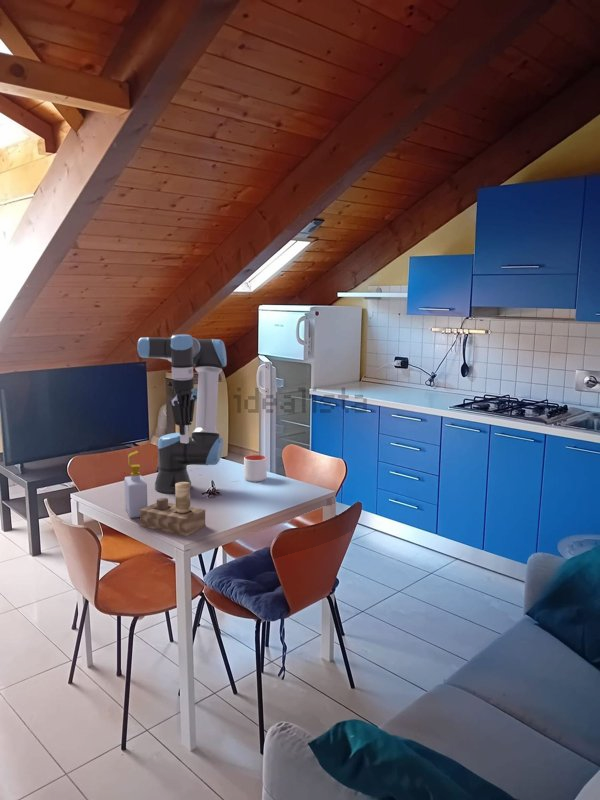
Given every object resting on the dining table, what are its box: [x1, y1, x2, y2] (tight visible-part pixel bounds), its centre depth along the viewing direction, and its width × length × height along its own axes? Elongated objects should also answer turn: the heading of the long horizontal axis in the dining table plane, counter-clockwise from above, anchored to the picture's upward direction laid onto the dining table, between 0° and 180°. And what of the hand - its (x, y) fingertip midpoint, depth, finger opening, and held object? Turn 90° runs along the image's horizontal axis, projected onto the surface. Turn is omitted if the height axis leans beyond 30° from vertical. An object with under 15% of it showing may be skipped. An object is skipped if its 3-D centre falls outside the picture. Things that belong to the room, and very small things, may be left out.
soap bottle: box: [124, 450, 149, 519], centre depth 231 cm, size 12×7×23 cm, turn 23°
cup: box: [243, 454, 268, 483], centre depth 277 cm, size 10×10×10 cm
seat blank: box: [139, 497, 206, 537], centre depth 219 cm, size 20×11×9 cm, turn 64°
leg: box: [174, 482, 191, 515], centre depth 216 cm, size 5×5×15 cm
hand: (184, 442), depth 225 cm, fingers closed
